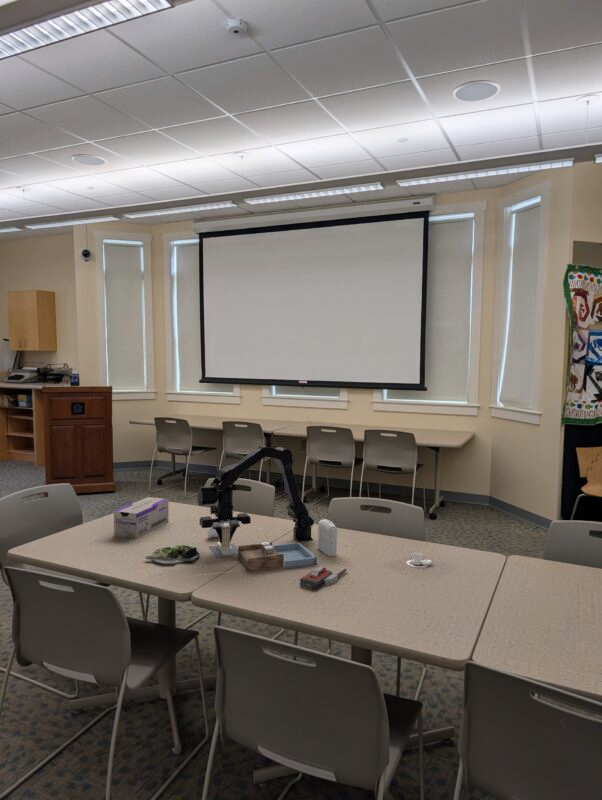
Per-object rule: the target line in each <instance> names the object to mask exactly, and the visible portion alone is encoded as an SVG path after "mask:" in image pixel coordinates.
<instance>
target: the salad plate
mask: <svg viewBox="0 0 602 800" xmlns="http://www.w3.org/2000/svg"><path fill="white" fill-rule="evenodd" d="M200 555H201V554H200V552H199V551H198V548H197V546H193V545H188V544H187V545H186V544H180V545H175V546H168V547H167V546H165V547H161V548H157V549H155V550H153V552H152V556H151V555H148V556H145V559H146V560H150V561H154V562H155V563H158V564H160V565H161V564H162V565H167V566H171V565H176V564H186V563H192V562H195V561H197V560H199V558H200Z"/></svg>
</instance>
